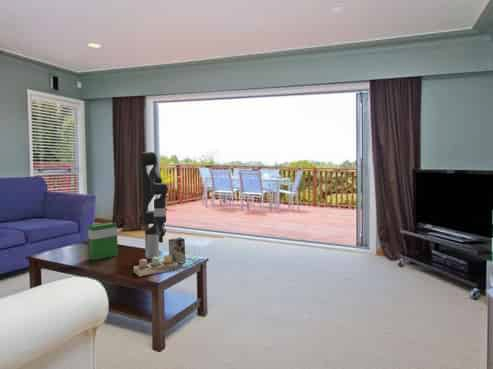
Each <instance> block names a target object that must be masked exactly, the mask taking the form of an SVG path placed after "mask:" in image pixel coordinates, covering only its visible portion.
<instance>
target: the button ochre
mask: <svg viewBox="0 0 493 369" xmlns="http://www.w3.org/2000/svg"><path fill="white" fill-rule="evenodd" d="M163 261H164V264H171V263H172V262H171V255H169V254H165V255H163Z"/></svg>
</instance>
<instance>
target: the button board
mask: <svg viewBox="0 0 493 369" xmlns="http://www.w3.org/2000/svg"><path fill="white" fill-rule="evenodd" d="M171 262H172V263H171V264H164V260H162V261H160V266H155V267H153V266H152V262H150V263H147V268H145V269H140V266H139V265H134V266H132V268H133V270H132V271H133V273H134V274H136V275H137V277H143V276H149V275H154V274H159V273H164V272H169V271H175V270H178V269H179V264H178V263H176V262H174V261H173V260H171Z"/></svg>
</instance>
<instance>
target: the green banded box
mask: <svg viewBox="0 0 493 369" xmlns="http://www.w3.org/2000/svg"><path fill="white" fill-rule="evenodd" d="M117 225H118V224H117V222H113V221H108V222H102V223H96V224H89V225H87V234H88V253H89V254H88V255H89V259H90V258H91V259H93V260H92V261H94V260H96V259H100V260H103V259H102V258H105V259H107V257H109V258H113V257H112V256H114V257H116V256H117V257H118V255H119V253H118V252H119V248H118V244H119V243H118V226H117ZM91 259H90V260H91ZM96 261H97V260H96Z"/></svg>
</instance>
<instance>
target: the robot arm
mask: <svg viewBox="0 0 493 369" xmlns="http://www.w3.org/2000/svg"><path fill="white" fill-rule="evenodd" d="M139 165H140V175H141V176H140V178H141V181H140V182H141V185H140V186H141V188H140V189H141V200H142V201H141V207H142V210H141V211H142V212H141V213H142V214H141V220H142V224H143V225H152V226H150V227H149V228H146V229H145V230H144V242H145V243H144V244H145V245H144V247H145V259H147V260H150V259H151V260H152V258H153V257H159V258H160V244H162V243H164V236H165V235H166V232H167V229H166V228H165V223H167V210H166V199H167V198H166V197H167V195H168V194H167V193H168V191H169V190H168V188H169V187H168V185H167V183H166V182H163V179H162V176H161V173H160V167H159V162H158V156H157V153H156V152H154V151H145V152H144V151H142V152H140V154H139ZM147 166H148V167H151V166H152V168H151V169H150V170H149V173H148V171H147V168H146V167H147ZM156 195H157V196H159V195H160V196H159V197H157V198H154V197H155V196H156ZM152 200H153V210H148V207H149V205H150V204H151V202H152Z"/></svg>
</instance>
